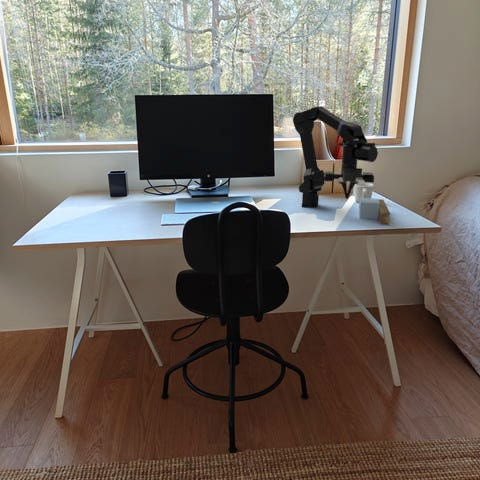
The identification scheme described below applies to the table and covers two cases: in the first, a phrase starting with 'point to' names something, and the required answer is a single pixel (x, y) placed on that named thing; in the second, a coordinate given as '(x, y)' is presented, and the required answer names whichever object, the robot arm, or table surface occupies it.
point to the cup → (363, 191)
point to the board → (383, 213)
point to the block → (369, 208)
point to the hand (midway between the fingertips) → (346, 198)
